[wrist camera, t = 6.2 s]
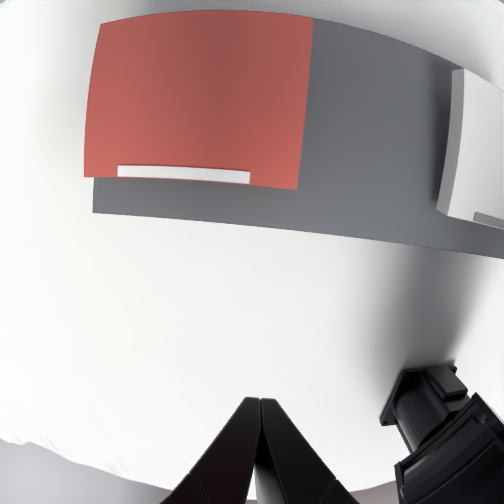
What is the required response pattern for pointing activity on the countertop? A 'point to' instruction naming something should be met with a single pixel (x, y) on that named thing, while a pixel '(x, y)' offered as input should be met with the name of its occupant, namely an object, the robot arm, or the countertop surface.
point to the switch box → (342, 156)
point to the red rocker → (200, 97)
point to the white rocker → (474, 152)
